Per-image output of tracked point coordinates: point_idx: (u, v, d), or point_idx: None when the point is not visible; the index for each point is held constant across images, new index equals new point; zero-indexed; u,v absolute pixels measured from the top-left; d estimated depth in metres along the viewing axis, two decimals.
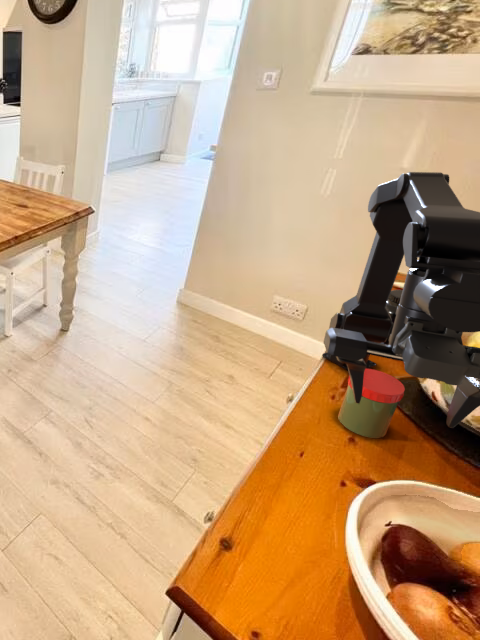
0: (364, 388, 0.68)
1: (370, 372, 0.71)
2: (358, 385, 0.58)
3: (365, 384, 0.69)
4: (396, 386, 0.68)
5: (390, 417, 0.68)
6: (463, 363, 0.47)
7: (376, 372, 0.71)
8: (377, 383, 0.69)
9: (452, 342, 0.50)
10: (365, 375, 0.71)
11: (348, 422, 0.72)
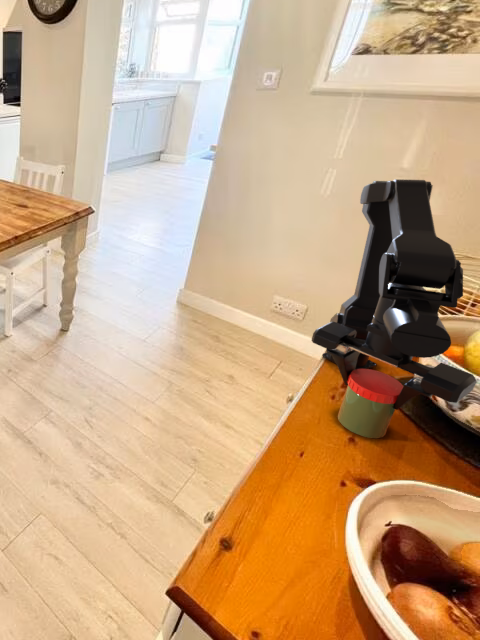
0: (398, 382, 0.69)
1: (373, 388, 0.68)
2: None
3: (394, 382, 0.69)
4: (360, 373, 0.71)
5: (390, 417, 0.69)
6: None
7: (366, 386, 0.69)
8: (378, 380, 0.69)
9: None
10: (383, 388, 0.68)
11: (348, 422, 0.72)
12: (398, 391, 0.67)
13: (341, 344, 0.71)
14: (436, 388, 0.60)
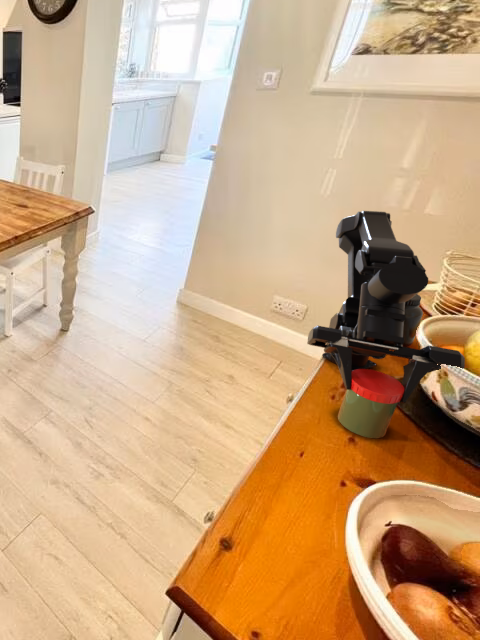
0: (398, 382, 0.69)
1: (373, 388, 0.68)
2: None
3: (394, 382, 0.69)
4: (360, 373, 0.71)
5: (390, 417, 0.69)
6: None
7: (366, 386, 0.69)
8: (378, 380, 0.69)
9: None
10: (383, 387, 0.68)
11: (348, 422, 0.72)
12: (398, 391, 0.67)
13: (342, 337, 0.72)
14: (445, 355, 0.65)
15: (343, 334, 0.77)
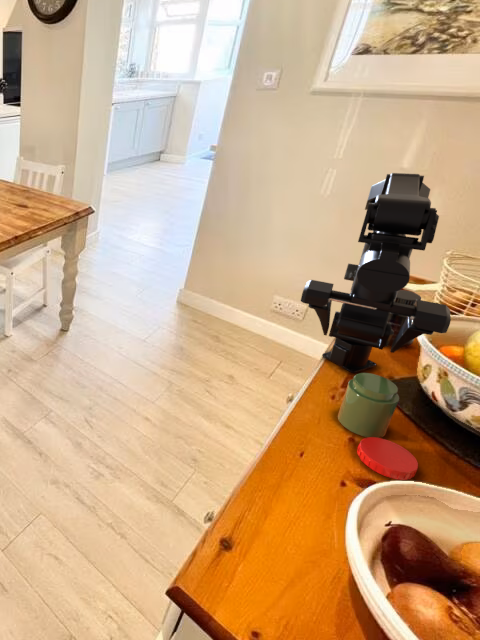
0: (410, 454, 0.65)
1: (386, 462, 0.64)
2: None
3: (406, 455, 0.65)
4: (370, 443, 0.68)
5: (390, 417, 0.69)
6: None
7: (378, 460, 0.65)
8: (390, 451, 0.66)
9: None
10: (397, 462, 0.64)
11: (348, 422, 0.72)
12: (412, 466, 0.63)
13: None
14: (428, 323, 0.66)
15: (346, 276, 0.77)
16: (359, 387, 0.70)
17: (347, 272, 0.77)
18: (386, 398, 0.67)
